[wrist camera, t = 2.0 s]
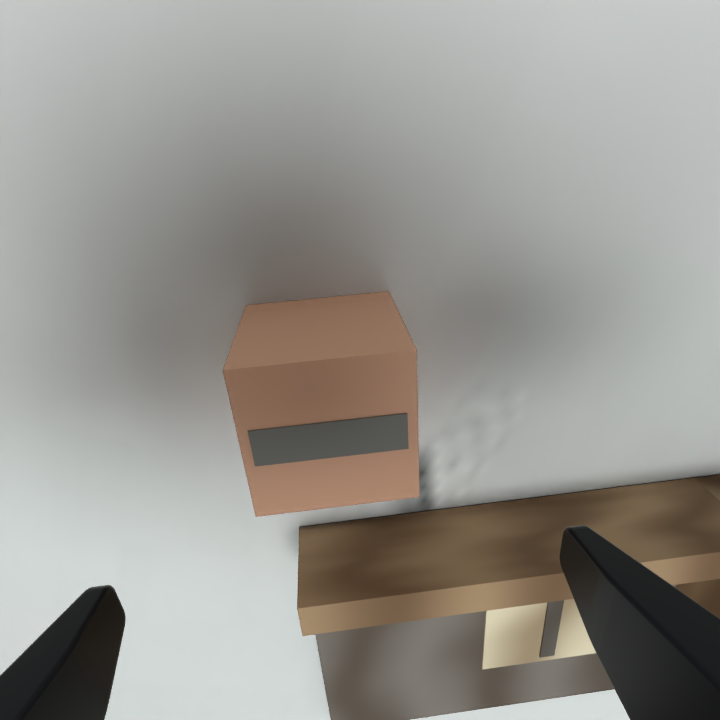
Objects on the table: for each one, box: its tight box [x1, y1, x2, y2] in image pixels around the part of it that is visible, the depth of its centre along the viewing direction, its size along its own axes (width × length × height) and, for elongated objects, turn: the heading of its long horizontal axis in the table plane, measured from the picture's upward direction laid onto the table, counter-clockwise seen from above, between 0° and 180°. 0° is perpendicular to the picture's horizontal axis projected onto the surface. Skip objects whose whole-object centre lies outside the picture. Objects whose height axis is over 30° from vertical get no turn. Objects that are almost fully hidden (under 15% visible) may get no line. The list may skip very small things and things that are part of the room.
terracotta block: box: [223, 291, 419, 517], centre depth 16 cm, size 5×5×5 cm
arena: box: [297, 475, 720, 720], centre depth 23 cm, size 20×15×4 cm
